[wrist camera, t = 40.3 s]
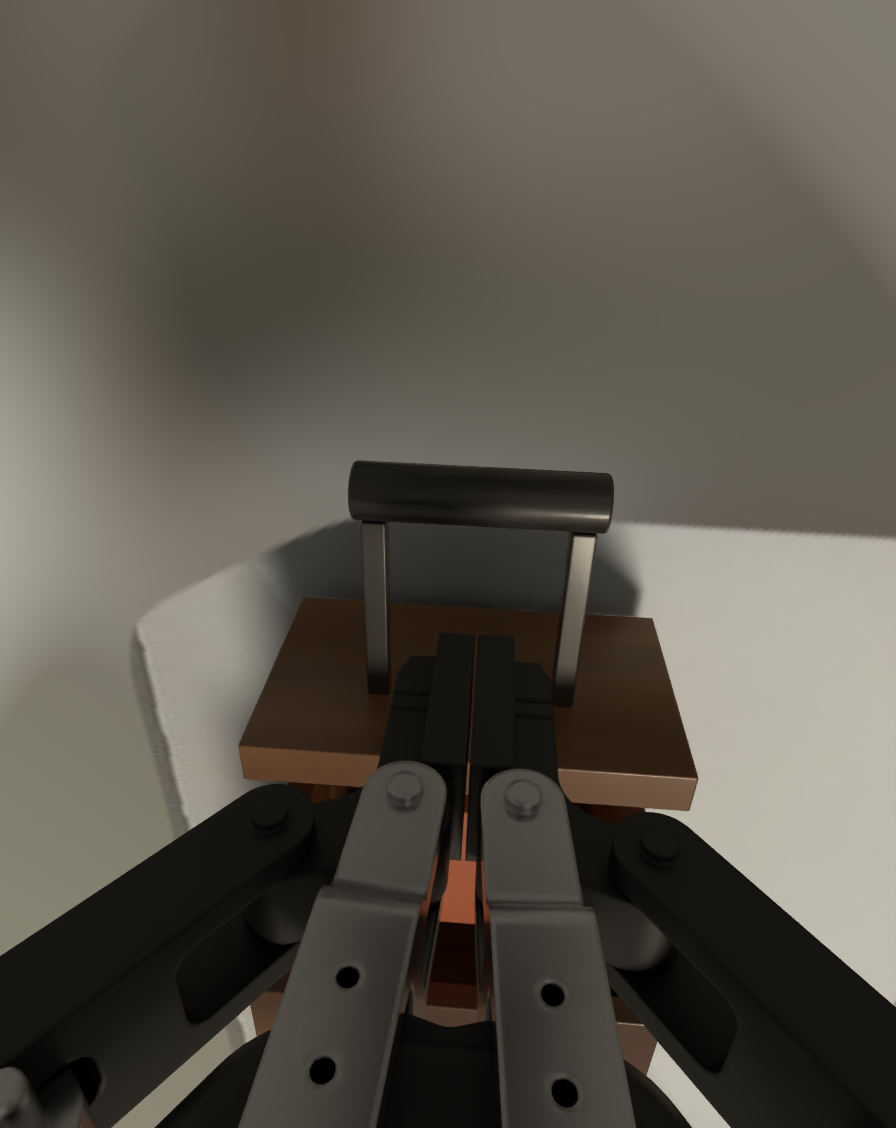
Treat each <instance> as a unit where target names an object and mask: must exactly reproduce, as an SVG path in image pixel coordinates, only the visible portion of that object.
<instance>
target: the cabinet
mask: <svg viewBox="0 0 896 1128" xmlns="http://www.w3.org/2000/svg"><path fill="white" fill-rule="evenodd" d="M291 970H292V968H291V969H290V970H289V971H288V972H286V973H285V974H284V975H283V976H282V977H281V978H280V979H279V980H277V981H276V982H275V983H274V984H273V985H272V986H271V987H269V988H268V989H267V990H266V991H265V992H264V993H263V994H262V995H260V996H259V997H258V998H257V999H256V1000H255V1001H254V1002H253V1003H251V1004H250V1005H251V1010H252V1015H253V1020H254V1025H255V1030H256V1035H257V1036H259V1035H260V1034H262V1033H265V1032H267V1031H269V1030H271V1029H272V1026H273V1023H274V1020H275V1017H276V1014H277V1011H278V1008H279V1005H280V1002H281V1000H282V997H283V994H284V991H285V988H286V985H287V982H288V979H289V976H290V973H291ZM611 998H612V1003H613V1008H614V1014H615V1019H616V1024H617V1029H618V1035H619V1040H620V1045H621V1050H622V1056H623V1059H624V1060H626V1061H627V1062H629V1063H630V1064H632V1065H633V1066H635V1067H636V1068H637V1069H639V1070H640V1071H641V1072H642V1073H643V1074H645V1075H647V1072H648V1069H649V1066H650V1063H651V1060H652V1056H653V1053H654V1050H655V1047H656V1044H657V1040H656V1039H655V1038H654V1037H653V1036H652V1034H651V1033H650V1032H649V1031H648V1030H647V1028H646V1027H645V1026H644V1025H643V1024H642V1023H641V1021H640V1020H639V1019H638V1018H637V1017H636V1016H635V1014H634V1013H633V1012H632V1011H631V1010H630V1009H629V1007H628V1006H627V1005H626V1004H625V1003H624V1001H623V1000H622V999H621V998H620V997H619V996H618V994H617V993H616V992H615V991H614V990H613V991H612V995H611ZM424 1019H425V1020H427V1021H430V1022H433V1023H435V1024H438V1025H441V1026H445V1027H456V1026H461V1025H467V1024H472V1023H477V1022H478V1014H477V985H473V984H461V983H450V982H438V981H430V983H429V988H428V994H427V1000H426V1007H425V1014H424Z"/></svg>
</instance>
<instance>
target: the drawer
mask: <svg viewBox="0 0 896 1128" xmlns="http://www.w3.org/2000/svg"><path fill="white" fill-rule="evenodd" d="M348 503H349V511H350V515H351V517H352V519H354V520H362V522H361V541H362V566H363V591H364V601H359V600H343V599H326V598H310V597H303V598H302V601H301V603H300V605H299V607H298V610H297V612H296V614H295V617H294V619H293V621H292V624H291V626H290V628H289V630H288V633H287V635H286V637H285V640H284V642H283V644H282V647H281V649H280V651H279V654H278V656H277V658H276V660H275V663H274V665H273V667H272V670H271V672H270V674H269V677H268V679H267V681H266V683H265V686H264V688H263V690H262V693H261V695H260V697H259V700H258V702H257V704H256V706H255V709H254V711H253V713H252V716H251V718H250V720H249V723H248V725H247V727H246V730H245V732H244V734H243V736H242V739H241V741H240V743H239V752H240V758H241V764H242V770H243V776H244V778H245V779H256V780H270V781H283V782H287V784H286V785H290V786H294V787H296V788H298V789H300V790H302V791H303V792H305V793H306V794H307V795H308V796H309V797H310V799H311V801H312V803H316V802H321V801H326V800H331V799H336V798H340V797H343V796H346V795H349V794H351V793H353V792H355V791H357V790H359V789H360V788H361V787H363V786H364V784H365V782H366V780H367V779H368V777H369V776H370V775H371V774H372V773H373V772H374V771H375V770H377V767H378V763H379V759H380V754H381V749H382V744H383V739H384V734H385V730H386V725H387V720H388V715H389V710H390V707H391V701H392V696H393V694H394V686H395V682H396V677H397V672H398V670H399V669H400V668H401V667H402V666H403V665H404V663H405V662H406V661H407V660H408V659H409V658H410V657H411V655H414V656H430V657H436V651H437V644H438V637H439V632H450V633H467V634H475V647H474V666H473V686H472V705H471V722H470V737H469V752H468V766H467V781H466V795H468V793H469V774H470V757H471V741H472V725H473V709H474V694H475V678H476V662H477V646H478V634H485V635H502V636H514V662H528V663H540V665H541V666H542V668H543V669H544V671H545V672H546V674H547V675H548V677H549V678H550V680H551V684H552V697H553V711H554V724H555V738H556V751H557V765H558V777H559V783H560V785H561V788H562V790H563V791H564V793H565V795H566V796H567V797H568V798H569V800H570V801H571V802H572V803H574V804H575V805H576V806H577V807H579V808H580V809H581V810H583V811H585V812H586V813H588V814H590V815H593V816H595V817H598V818H601V819H603V820H606V821H609V822H612V823H615V824H618V825H619V824H620V822H621V821H622V820H624V819H625V818H627V817H629V816H631V815H633V814H637V813H643V812H646V811H645V808H653V809H667V810H681V811H689V810H690V807H691V803H692V799H693V796H694V792H695V789H696V785H697V782H698V775H697V771H696V768H695V765H694V761H693V758H692V754H691V751H690V747H689V744H688V740H687V737H686V733H685V730H684V726H683V723H682V719H681V716H680V712H679V709H678V705H677V702H676V699H675V695H674V692H673V688H672V685H671V681H670V678H669V674H668V671H667V667H666V664H665V660H664V657H663V653H662V650H661V646H660V643H659V640H658V636H657V633H656V629H655V626H654V622H653V619H652V618H639V617H622V616H606V615H590V614H586V610H587V603H588V596H589V590H590V583H591V576H592V569H593V562H594V556H595V549H596V542H597V534H596V533H599V534H604V533H606V532H607V531H608V529H609V527H610V524H611V520H612V513H613V503H614V484H613V479H612V476H611V475H610V474H608V473H591V472H571V471H553V470H534V469H514V468H495V467H474V466H456V465H455V466H454V465H436V464H416V463H398V462H378V461H355V462H354V463H353V465H352V468H351V471H350V477H349V486H348ZM389 522H401V523H419V524H437V525H455V526H473V527H491V528H509V529H527V530H545V531H563V532H569V540H568V548H567V556H566V564H565V572H564V580H563V588H562V596H561V604H560V612H559V613H557V612H540V611H524V610H507V609H491V608H474V607H458V606H441V605H425V604H409V603H392V602H390V561H389ZM430 981H438V982H450V983H461V984H473V985H477V981H476V954H475V926H474V924H468V923H455V922H443V921H440V924H439V930H438V936H437V942H436V948H435V953H434V959H433V965H432V971H431V977H430ZM609 987H610V993H611V995H612V991H613V989H612V987H611V986H610V985H609Z"/></svg>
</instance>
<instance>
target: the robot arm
mask: <svg viewBox="0 0 896 1128" xmlns="http://www.w3.org/2000/svg"><path fill="white" fill-rule="evenodd" d="M474 647H475V634H467V633H450V632H439V637H438V644H437V651H436V657H430V656H414V655H411V657H410V658H409V659H408V660H407V661H406V662H405V663H404V665H403V666H402V667H401V668H400V669H399V670H398V672H397V677H396V682H395V686H394V694H393V696H392V701H391V707H390V710H389V715H388V720H387V725H386V730H385V734H384V739H383V744H382V749H381V754H380V759H379V763H378V767H377V770H375V771H374V772H373V773H372V774H371V775H370V776H369V777H368V779H367V780H366V782H365V784H364V786H363V787H361V788H360V789H359V790H357V791H355V792H353V793H351V794H349V795H346V796H343V797H340V798H336V799H331V800H326V801H321V802H316V803H312V801H311V799H310V797H309V796H308V795H307V794H306V793H305V792H303V791H302V790H300V789H298V788H296V787H294V786H290V785H285V784H270V785H265V786H261V787H258V788H255V789H253V790H251V791H249V792H247V793H245V794H244V795H242V796H241V797H239V798H238V799H236V800H235V801H233V802H232V803H230V804H229V805H227V806H226V807H224V808H223V809H221V810H220V811H218V812H217V813H215V814H214V815H212V816H211V817H209V818H208V819H206V820H205V821H203V822H202V823H200V824H199V825H197V826H196V827H194V828H193V829H191V830H190V831H188V832H187V833H185V834H184V835H182V836H181V837H179V838H177V839H176V840H174V841H173V842H172V843H170V844H169V845H167V846H165V847H164V848H162V849H161V850H159V851H158V852H156V853H155V854H153V855H152V856H150V857H149V858H147V859H146V860H144V861H143V862H141V863H140V864H139V865H137V866H136V867H134V868H133V869H131V870H129V871H128V872H126V873H125V874H123V875H122V876H120V877H119V878H117V879H116V880H114V881H113V882H112V883H110V884H108V885H107V886H105V887H104V888H102V889H101V890H99V891H98V892H96V893H95V894H93V895H92V896H90V897H89V898H87V899H86V900H84V901H83V902H81V903H80V904H78V905H77V906H75V907H74V908H72V909H71V910H69V911H68V912H66V913H65V914H63V915H62V916H60V917H59V918H57V919H55V920H54V921H52V922H51V923H50V924H48V925H46V926H45V927H44V928H42V929H40V930H39V931H38V932H36V933H34V934H33V935H31V936H30V937H28V938H27V939H25V940H24V941H22V942H21V943H19V944H18V945H16V946H15V947H14V948H12V949H10V950H9V951H7V952H6V953H5V954H3V955H1V956H0V1128H111V1127H112V1126H114V1125H115V1124H116V1123H117V1122H118V1121H119V1120H120V1119H122V1118H123V1117H124V1116H125V1115H126V1114H127V1113H128V1112H129V1111H131V1110H132V1109H133V1108H134V1107H135V1106H136V1105H137V1104H138V1103H140V1102H141V1101H142V1100H143V1099H144V1098H145V1097H146V1096H148V1094H150V1093H151V1092H152V1091H153V1090H154V1089H155V1088H157V1087H158V1086H159V1085H160V1084H161V1083H162V1082H163V1081H164V1080H166V1079H167V1078H168V1077H169V1076H170V1075H171V1074H172V1073H173V1072H175V1071H176V1070H177V1069H178V1068H179V1067H180V1066H181V1065H183V1064H184V1063H185V1062H186V1061H187V1060H188V1059H189V1058H190V1057H192V1055H194V1054H195V1053H196V1052H197V1051H198V1050H199V1049H201V1048H202V1047H203V1046H204V1045H205V1044H206V1043H207V1042H208V1041H210V1040H211V1039H212V1038H213V1037H214V1036H215V1035H216V1034H217V1033H219V1032H220V1031H221V1030H222V1029H223V1028H224V1027H225V1026H227V1025H228V1024H229V1023H230V1022H231V1021H232V1020H233V1019H234V1018H236V1017H237V1016H238V1015H239V1014H240V1013H241V1012H242V1011H243V1010H245V1009H246V1008H247V1007H248V1006H249V1005H250V1004H251V1003H253V1002H254V1001H255V1000H256V999H257V998H258V997H259V996H260V995H262V994H263V993H264V992H265V991H266V990H267V989H268V988H269V987H271V986H272V985H273V984H274V983H275V982H276V981H277V980H279V979H280V978H281V977H282V976H283V975H284V974H285V973H286V972H288V971H289V970H290V969H291V968H292V970H291V973H290V976H289V979H288V982H287V985H286V988H285V991H284V994H283V997H282V1000H281V1002H280V1005H279V1008H278V1011H277V1014H276V1017H275V1020H274V1023H273V1026H272V1029H271V1030H269V1031H267V1032H265V1033H262V1034H260V1035H259V1036H257V1037H255V1038H254V1039H252V1040H250V1041H249V1042H247V1043H245V1044H244V1045H243V1046H241V1047H240V1048H239V1049H237V1050H236V1051H235V1052H233V1053H232V1054H231V1055H230V1056H228V1057H227V1058H226V1059H225V1060H224V1061H223V1062H222V1063H221V1064H220V1065H218V1066H217V1067H216V1068H215V1069H214V1070H213V1071H212V1073H210V1074H209V1075H208V1076H207V1077H206V1078H205V1079H204V1080H203V1081H202V1082H201V1083H200V1084H199V1085H198V1086H197V1087H196V1088H195V1089H194V1090H193V1091H192V1092H191V1093H190V1094H189V1095H188V1096H187V1097H186V1098H185V1099H184V1100H183V1101H181V1102H180V1104H178V1105H177V1106H176V1107H175V1108H174V1109H173V1110H172V1111H171V1112H170V1113H169V1114H168V1115H167V1116H166V1117H165V1118H164V1119H163V1120H162V1121H161V1122H160V1123H159V1124H158V1125H157V1126H156V1127H155V1128H692V1127H691V1126H690V1124H689V1123H688V1122H687V1121H686V1119H685V1118H684V1117H683V1115H682V1114H681V1113H680V1111H679V1110H678V1109H677V1108H676V1106H675V1105H674V1104H673V1103H672V1101H671V1100H670V1099H669V1098H668V1097H667V1096H666V1095H665V1093H664V1092H663V1091H662V1090H661V1089H660V1088H659V1087H658V1086H657V1085H656V1084H655V1083H654V1082H653V1081H652V1080H651V1079H649V1078H648V1077H647V1076H646V1075H645V1074H643V1073H642V1072H641V1071H640V1070H639V1069H637V1068H636V1067H635V1066H633V1065H632V1064H630V1063H629V1062H627V1061H626V1060H624V1059H623V1056H622V1050H621V1045H620V1040H619V1035H618V1029H617V1024H616V1019H615V1014H614V1008H613V1003H612V998H611V993H610V987H609V985H610V986H611V987H612V989H613V990H614V991H615V992H616V993H617V994H618V996H619V997H620V998H621V999H622V1000H623V1001H624V1003H625V1004H626V1005H627V1006H628V1007H629V1009H630V1010H631V1011H632V1012H633V1013H634V1014H635V1016H636V1017H637V1018H638V1019H639V1020H640V1021H641V1023H642V1024H643V1025H644V1026H645V1027H646V1028H647V1030H648V1031H649V1032H650V1033H651V1034H652V1036H653V1037H654V1038H655V1039H656V1040H657V1041H658V1043H659V1044H660V1045H661V1046H662V1047H663V1048H664V1050H665V1051H666V1052H667V1053H668V1054H669V1055H670V1057H671V1058H672V1059H673V1060H674V1061H675V1062H676V1064H677V1065H678V1066H679V1067H680V1068H681V1070H682V1071H683V1072H684V1073H685V1074H686V1075H687V1077H688V1078H689V1079H690V1080H691V1081H692V1082H693V1084H694V1085H695V1086H696V1087H697V1088H698V1089H699V1091H700V1092H701V1093H702V1094H703V1095H704V1097H705V1098H706V1099H707V1100H708V1101H709V1102H710V1104H711V1105H712V1106H713V1107H714V1108H715V1109H716V1111H717V1112H718V1113H719V1114H720V1115H721V1116H722V1118H723V1119H724V1120H725V1121H726V1122H727V1123H728V1125H729V1126H730V1127H731V1128H896V1007H895V1006H894V1005H892V1004H891V1003H890V1002H889V1001H888V1000H887V999H886V998H884V997H883V996H882V995H881V994H880V993H879V992H877V991H876V990H875V989H874V988H873V987H872V986H871V985H869V984H868V983H867V982H866V981H865V980H864V979H863V978H861V977H860V976H859V975H858V974H857V973H856V972H854V971H853V970H852V969H851V968H850V967H849V966H848V965H846V964H845V963H844V962H843V961H842V960H841V959H840V958H838V957H837V956H836V955H835V954H834V953H833V952H831V951H830V950H829V949H828V948H827V947H826V946H825V945H823V944H822V943H821V942H820V941H819V940H818V939H816V938H815V937H814V936H813V935H812V934H811V933H810V932H808V931H807V930H806V929H805V928H804V927H803V926H802V925H800V924H799V923H798V922H797V921H796V920H795V919H793V918H792V917H791V916H790V915H789V914H788V913H787V912H785V911H784V910H783V909H782V908H781V907H780V906H778V905H777V904H776V903H775V902H774V901H773V900H772V899H770V898H769V897H768V896H767V895H766V894H765V893H764V892H762V891H761V890H760V889H759V888H758V887H757V886H755V885H754V884H753V883H752V882H751V881H750V880H749V879H747V878H746V877H745V876H744V875H743V874H742V873H741V872H739V871H738V870H737V869H736V868H735V867H734V866H732V865H731V864H730V863H729V862H728V861H727V860H726V859H724V858H723V857H722V856H721V855H720V854H719V853H717V852H716V851H715V850H714V849H713V848H712V847H711V846H709V845H708V844H707V843H706V842H705V841H704V840H703V839H701V838H700V837H699V836H698V835H697V834H696V833H694V832H693V831H692V830H691V829H690V828H689V827H687V826H686V825H685V824H683V823H682V822H680V821H678V820H677V819H674V818H672V817H670V816H667V815H664V814H660V813H654V812H643V813H637V814H633V815H631V816H629V817H627V818H625V819H624V820H622V821H621V822H620V824H619V825H618V824H615V823H612V822H609V821H606V820H603V819H601V818H598V817H595V816H593V815H590V814H588V813H586V812H585V811H583V810H581V809H580V808H579V807H577V806H576V805H575V804H574V803H572V802H571V801H570V800H569V798H568V797H567V796H566V795H565V793H564V791H563V790H562V788H561V785H560V783H559V777H558V765H557V751H556V738H555V724H554V711H553V697H552V684H551V680H550V678H549V677H548V675H547V674H546V672H545V671H544V669H543V668H542V666H541V665H540V663H528V662H514V636H502V635H485V634H478V646H477V662H476V678H475V694H474V709H473V725H472V741H471V757H470V774H469V793H468V813H467V832H466V851H465V861H473V862H476V875H475V895H474V926H475V954H476V981H477V1014H478V1022H477V1023H472V1024H467V1025H461V1026H456V1027H445V1026H441V1025H438V1024H435V1023H433V1022H430V1021H427V1020H425V1019H424V1014H425V1007H426V1000H427V994H428V988H429V983H430V977H431V971H432V965H433V959H434V953H435V948H436V942H437V936H438V930H439V924H440V918H441V913H442V907H443V896H444V893H445V890H446V888H447V883H448V873H449V861H450V860H457V861H461V856H462V841H463V826H464V811H465V796H466V781H467V766H468V752H469V737H470V722H471V705H472V686H473V666H474Z"/></svg>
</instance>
